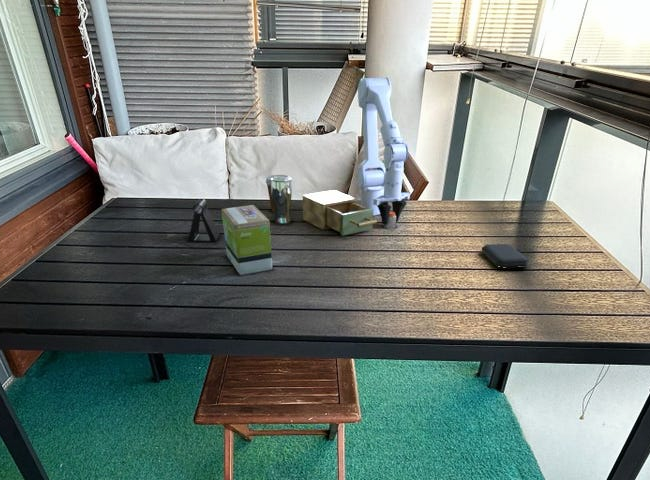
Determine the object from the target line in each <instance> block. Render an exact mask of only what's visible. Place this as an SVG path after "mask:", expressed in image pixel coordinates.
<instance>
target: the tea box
mask: <svg viewBox="0 0 650 480" xmlns="http://www.w3.org/2000/svg"><path fill="white" fill-rule="evenodd" d="M221 219H222V226H223V233H224V234H223V235H224V242H225V251H226V256H227V258H228V259H229V261H230V263H231V264H232V265H233V267H234V269H236V271H237V273H238V274H239V275H240V276H243V275H249V274H255V273H261V272H265V271H266V272H267V271H271V270H273V256H272V239H271V224H270V219H268V218H267V216H266V215H265V214H264V213H262V211H260V210H259V209H258V208H257V207H256V206H255V205H254V204H249V205H242V206H241V205H240V206H235V207H227V208H221Z"/></svg>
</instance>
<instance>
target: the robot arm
mask: <svg viewBox="0 0 650 480" xmlns="http://www.w3.org/2000/svg"><path fill="white" fill-rule="evenodd" d="M391 95H392V82H391V79H390V78H389V77H387V76H386V77H367V78H365V77H362V78H361V79H360V81H359V82H358V85H357V102H358V107H359V108H361V109H362V110H361V111H362V129H363V130H362V131H363V154H364V155H363V156H364V160H363V161H362V162H360V164H359V165H358V166H357V171H356V173H357V174H356V185H357V187H358V188H359V189H360V203H359V205H361V206H363V207H366V208H367V209H370V208H372V209H374V210H373V217H374V216H378V215H380V219H381V224H382V225H384V224H385V225H387V224H388V217H389V212H390V211H391V209H392V211H393V212H395V214H396V215H397V217H396V224H397V223H398V222H399V219H400V217H401V215H402V212H403V210H404V209H405V207H406V206H407V201H406V200H410V198H411V193H410V192H407V191H405V192H402V188H403V187H402V185H403V175H404V166H405V165H404V163H405V162H406V161H407V160H408V157H409V147H408V144H407V143H406V142H405V140H404V139H402V136H401V132H400V128H399V126H398V123H397V122H396V121H395V120H394V119H393V113H392V108H391V103H390V98H391ZM378 117H379V119H380V120H379V121H380V122H381V126H380V128H379V131H380V135H381V138H382V143H383V146H384V148H383V154H382V155H383V156H382V157H383V161H384V162H382V161H381V159H379V134H378V133H379V132H378ZM390 203H391V204H392V206H391V205H390Z"/></svg>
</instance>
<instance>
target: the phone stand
mask: <svg viewBox="0 0 650 480" xmlns="http://www.w3.org/2000/svg"><path fill="white" fill-rule="evenodd" d="M192 211H193V217H192V222H191V225H190V231H189V236H188V240H187V241H188V242H196V243H197V242H198V243H200V242H203V243H204V242H205V243H211V242H212V243H216V242H217V240H218V238H219V237H220V232H219V229H218V228H217V226H216V224H215V221H214V220H213V217H212V214H211V213H210V211H209V208H208V203H207V200H206V199H204V198H202V200H201V198H199V199H198V200H197V201H196V202H195V203H194V205H193V206H192ZM201 220H202V223H203V225H204V228H205V231H206V232H207V233H199V231H200V223H201Z"/></svg>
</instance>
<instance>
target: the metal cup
mask: <svg viewBox="0 0 650 480" xmlns="http://www.w3.org/2000/svg"><path fill="white" fill-rule="evenodd" d="M278 176H285V177H290V176H289V175H286V174H274V175H273V174H272V175H268V176H267V177H266V180H265V183H266V187H267V191H268V197H269V203H270V209H271V211H272V212H273V213H275V209H274V204H273V200H272V192H271V182H272V178H273V177H278Z"/></svg>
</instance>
